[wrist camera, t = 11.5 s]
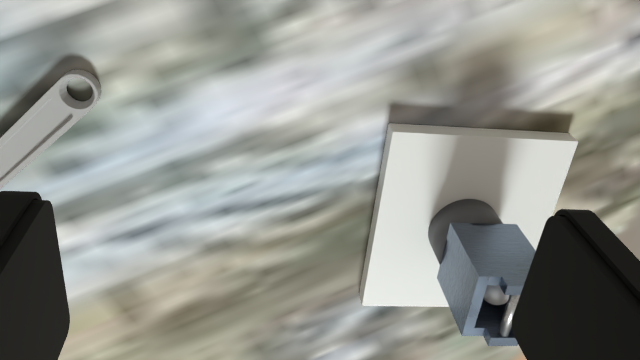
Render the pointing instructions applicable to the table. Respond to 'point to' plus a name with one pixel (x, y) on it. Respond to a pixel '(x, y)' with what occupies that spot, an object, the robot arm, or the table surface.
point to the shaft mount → (454, 201)
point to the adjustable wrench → (44, 124)
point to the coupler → (484, 277)
